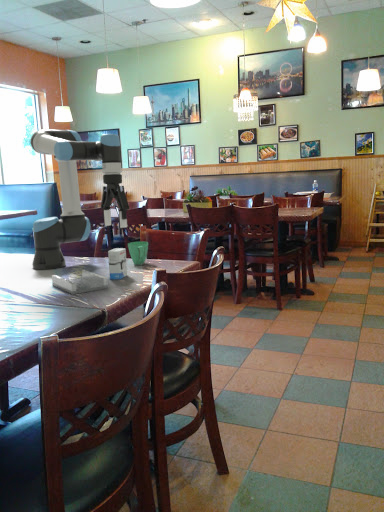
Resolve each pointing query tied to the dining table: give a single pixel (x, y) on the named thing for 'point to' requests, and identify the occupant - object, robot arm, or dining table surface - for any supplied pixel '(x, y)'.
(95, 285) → the whitish low flat box
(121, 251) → the ink box
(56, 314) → the dining table surface
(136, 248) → the mug
